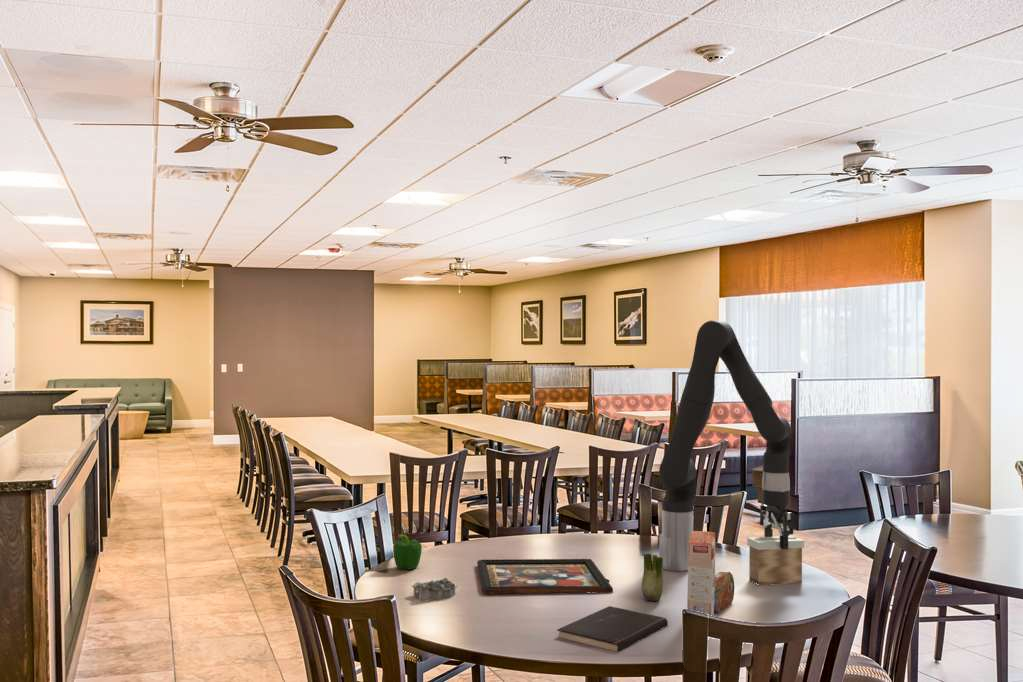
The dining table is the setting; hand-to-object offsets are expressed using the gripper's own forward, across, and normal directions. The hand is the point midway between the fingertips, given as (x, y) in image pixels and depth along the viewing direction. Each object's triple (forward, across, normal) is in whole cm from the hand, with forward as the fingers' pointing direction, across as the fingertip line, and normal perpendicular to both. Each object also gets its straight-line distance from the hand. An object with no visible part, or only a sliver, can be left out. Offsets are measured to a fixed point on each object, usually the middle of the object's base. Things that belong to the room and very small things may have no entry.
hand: (776, 545), depth 248 cm
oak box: (+10, 0, 0) cm, 10 cm away
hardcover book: (+11, +32, -59) cm, 68 cm away
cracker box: (+10, +31, -37) cm, 49 cm away
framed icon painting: (+10, -16, -64) cm, 67 cm away
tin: (+10, +19, -27) cm, 35 cm away
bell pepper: (+10, -35, -100) cm, 107 cm away
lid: (0, 0, 0) cm, 0 cm away
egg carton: (+10, -5, -96) cm, 97 cm away
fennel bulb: (+10, +10, -41) cm, 44 cm away
